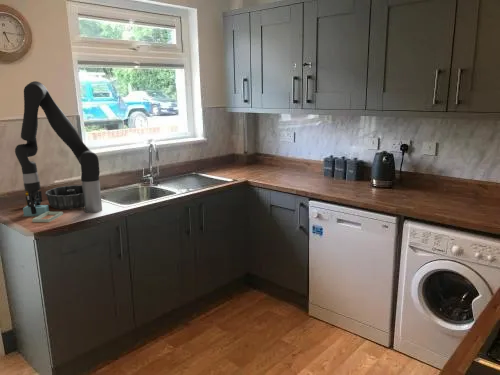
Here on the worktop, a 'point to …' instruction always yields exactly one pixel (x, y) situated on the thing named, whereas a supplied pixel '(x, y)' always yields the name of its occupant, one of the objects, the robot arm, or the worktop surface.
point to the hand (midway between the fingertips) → (36, 212)
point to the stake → (32, 215)
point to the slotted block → (39, 210)
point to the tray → (38, 218)
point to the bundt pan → (66, 197)
